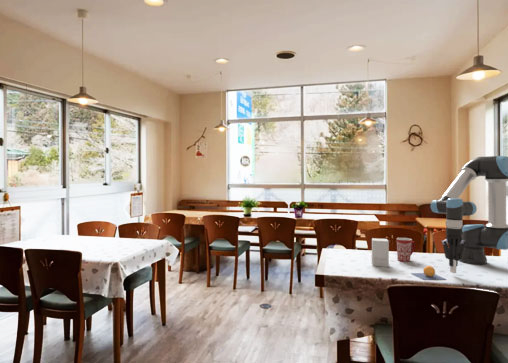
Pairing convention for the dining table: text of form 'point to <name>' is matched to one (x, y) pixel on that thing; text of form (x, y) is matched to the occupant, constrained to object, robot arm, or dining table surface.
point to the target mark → (424, 277)
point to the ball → (429, 271)
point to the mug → (404, 249)
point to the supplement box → (380, 252)
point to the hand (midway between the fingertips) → (453, 272)
